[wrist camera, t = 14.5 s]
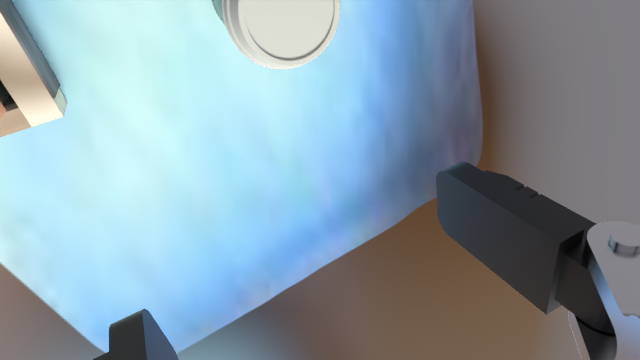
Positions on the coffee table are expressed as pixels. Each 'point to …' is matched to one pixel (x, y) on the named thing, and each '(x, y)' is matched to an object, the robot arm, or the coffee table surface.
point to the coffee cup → (280, 29)
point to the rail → (25, 76)
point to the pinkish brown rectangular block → (3, 98)
